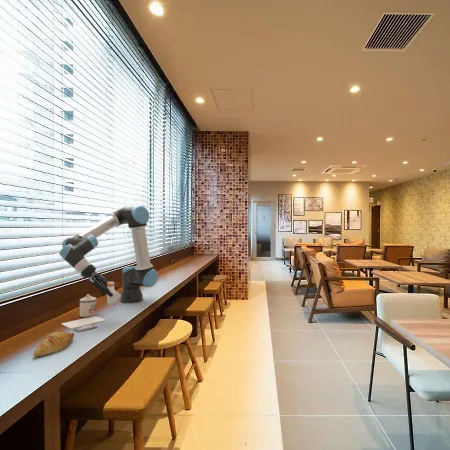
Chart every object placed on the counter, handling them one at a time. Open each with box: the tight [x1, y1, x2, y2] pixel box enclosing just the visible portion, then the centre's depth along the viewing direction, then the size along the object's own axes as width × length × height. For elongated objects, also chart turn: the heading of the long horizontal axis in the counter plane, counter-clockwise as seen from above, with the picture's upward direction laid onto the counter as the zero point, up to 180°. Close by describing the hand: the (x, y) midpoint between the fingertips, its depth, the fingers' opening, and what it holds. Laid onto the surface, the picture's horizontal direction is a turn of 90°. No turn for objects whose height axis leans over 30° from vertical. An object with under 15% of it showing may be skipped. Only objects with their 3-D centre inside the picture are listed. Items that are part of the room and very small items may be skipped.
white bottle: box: [106, 281, 116, 307], centre depth 165 cm, size 4×4×12 cm
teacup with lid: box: [78, 293, 98, 318], centre depth 180 cm, size 12×9×12 cm
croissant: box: [32, 331, 75, 357], centre depth 129 cm, size 21×10×8 cm, turn 168°
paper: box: [61, 315, 107, 330], centre depth 165 cm, size 18×12×1 cm, turn 138°
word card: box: [73, 324, 98, 333], centre depth 154 cm, size 9×6×1 cm, turn 138°
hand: (118, 298), depth 166 cm, fingers closed on white bottle, 3 cm apart
